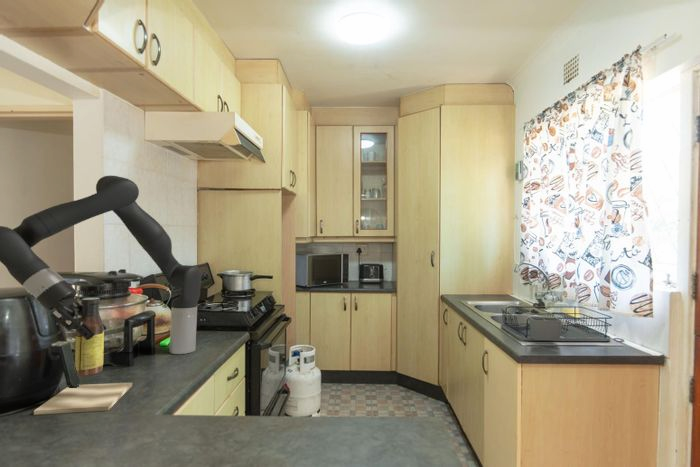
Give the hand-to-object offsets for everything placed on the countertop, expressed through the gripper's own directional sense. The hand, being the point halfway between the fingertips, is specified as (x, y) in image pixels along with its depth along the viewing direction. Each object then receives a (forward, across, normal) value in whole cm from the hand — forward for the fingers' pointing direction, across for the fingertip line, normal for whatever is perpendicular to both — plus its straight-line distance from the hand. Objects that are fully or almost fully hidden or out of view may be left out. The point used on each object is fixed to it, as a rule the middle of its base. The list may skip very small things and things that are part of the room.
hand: (97, 333), depth 98 cm
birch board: (+11, 0, +13) cm, 17 cm away
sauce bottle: (+6, 0, +9) cm, 11 cm away
